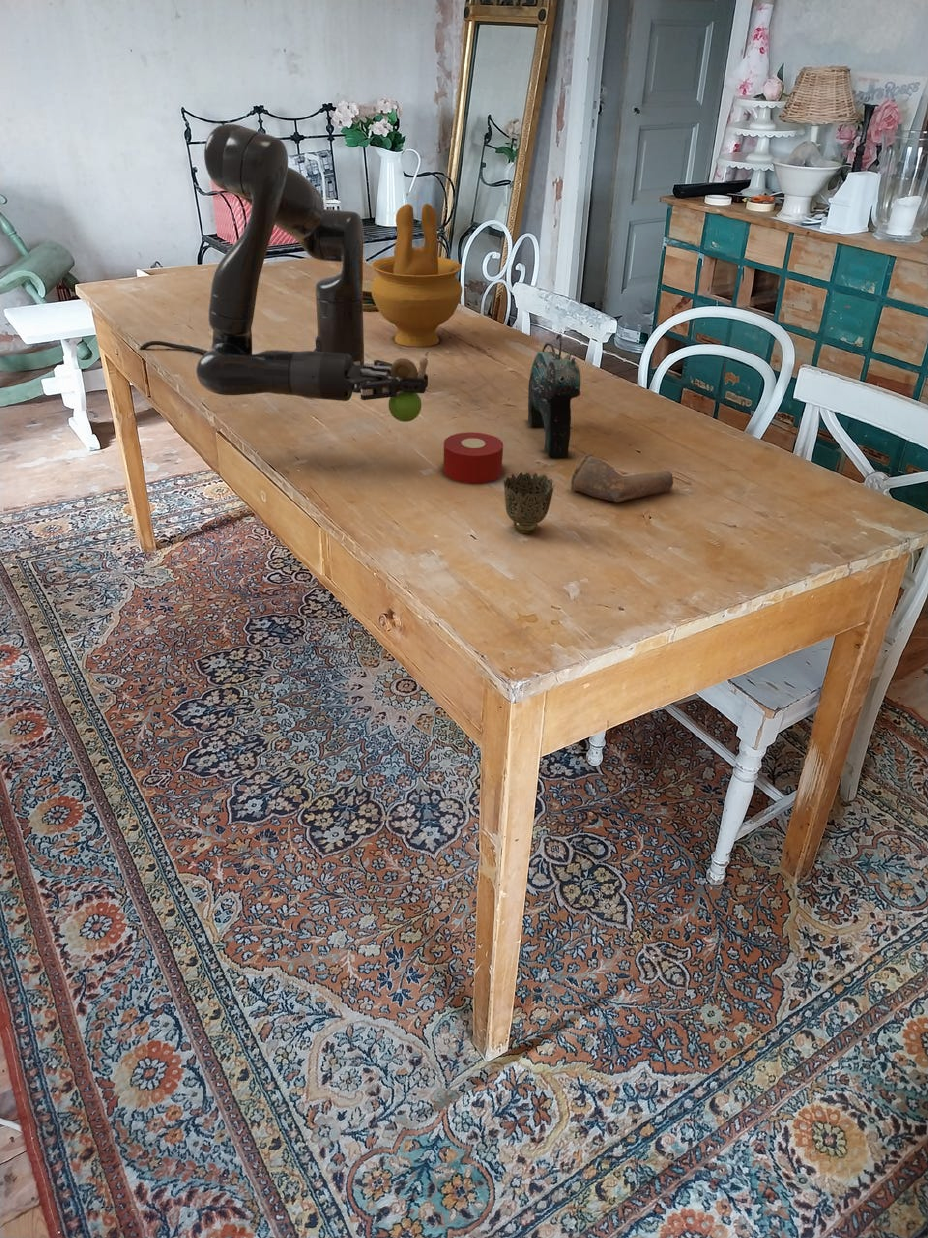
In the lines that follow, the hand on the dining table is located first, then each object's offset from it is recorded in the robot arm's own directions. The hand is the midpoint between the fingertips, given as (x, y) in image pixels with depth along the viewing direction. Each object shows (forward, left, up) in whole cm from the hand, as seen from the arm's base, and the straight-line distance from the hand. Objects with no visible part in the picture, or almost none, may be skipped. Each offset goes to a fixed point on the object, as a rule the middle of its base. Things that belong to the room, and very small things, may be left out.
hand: (426, 383), depth 152 cm
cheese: (+8, 0, -15) cm, 17 cm away
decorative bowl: (-12, +72, -15) cm, 75 cm away
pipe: (+33, -4, -15) cm, 37 cm away
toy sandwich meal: (-29, +100, -15) cm, 105 cm away
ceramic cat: (+20, +16, -15) cm, 30 cm away
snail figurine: (-3, 0, -7) cm, 7 cm away
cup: (+18, -20, -15) cm, 31 cm away
